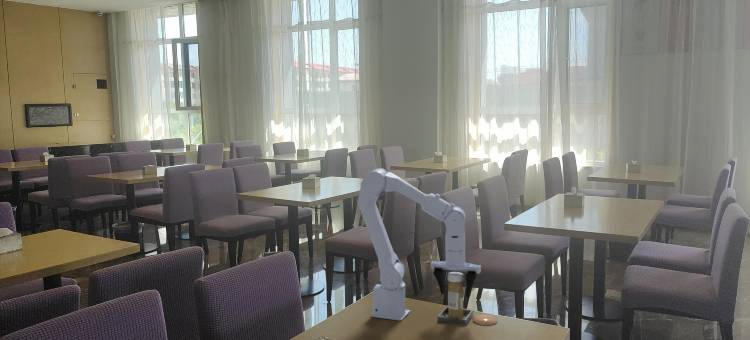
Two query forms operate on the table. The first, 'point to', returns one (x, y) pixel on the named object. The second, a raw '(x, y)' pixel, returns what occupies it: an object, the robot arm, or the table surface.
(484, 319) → the terracotta coaster
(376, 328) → the table surface
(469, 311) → the square socket
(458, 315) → the sprinkles bottle
